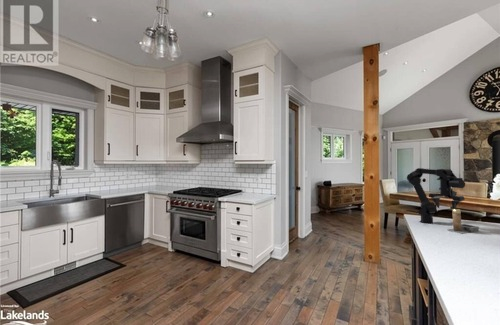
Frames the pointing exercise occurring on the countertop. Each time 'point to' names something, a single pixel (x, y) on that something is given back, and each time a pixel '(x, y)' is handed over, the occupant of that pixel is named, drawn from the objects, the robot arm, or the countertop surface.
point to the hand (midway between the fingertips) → (445, 209)
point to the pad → (458, 231)
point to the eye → (469, 228)
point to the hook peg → (456, 219)
